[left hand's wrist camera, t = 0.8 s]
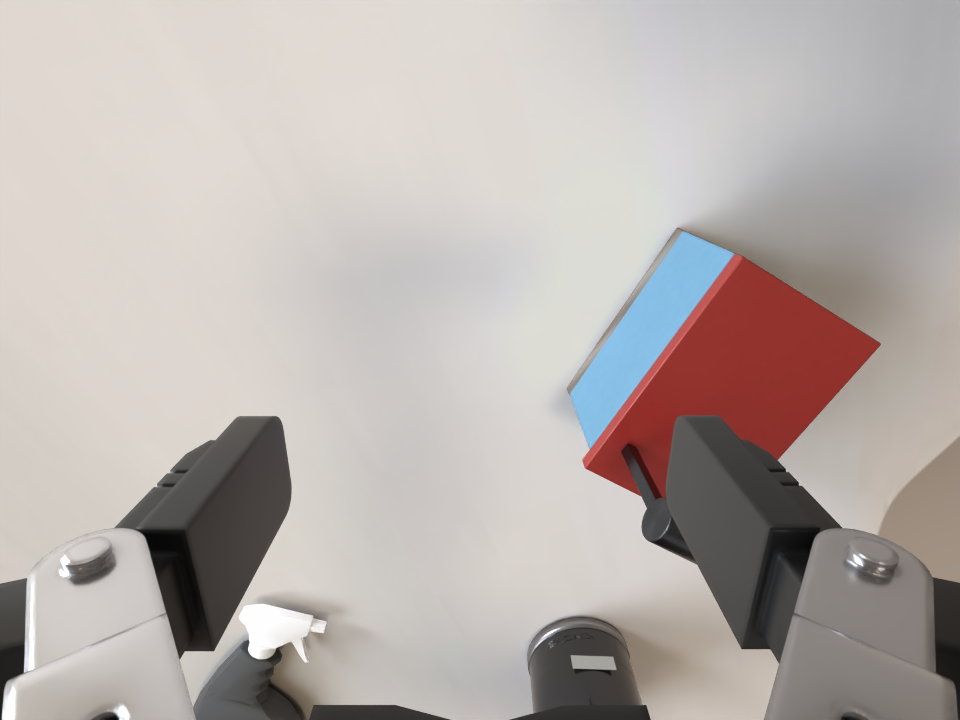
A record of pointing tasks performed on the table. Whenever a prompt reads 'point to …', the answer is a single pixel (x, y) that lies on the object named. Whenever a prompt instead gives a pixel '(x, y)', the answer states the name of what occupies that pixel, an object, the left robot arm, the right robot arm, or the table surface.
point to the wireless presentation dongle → (256, 667)
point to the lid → (729, 383)
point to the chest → (644, 328)
